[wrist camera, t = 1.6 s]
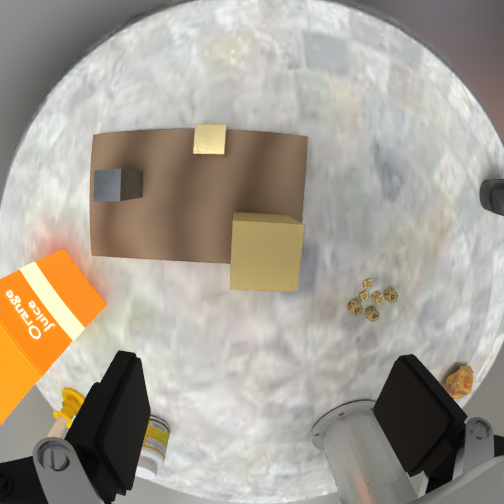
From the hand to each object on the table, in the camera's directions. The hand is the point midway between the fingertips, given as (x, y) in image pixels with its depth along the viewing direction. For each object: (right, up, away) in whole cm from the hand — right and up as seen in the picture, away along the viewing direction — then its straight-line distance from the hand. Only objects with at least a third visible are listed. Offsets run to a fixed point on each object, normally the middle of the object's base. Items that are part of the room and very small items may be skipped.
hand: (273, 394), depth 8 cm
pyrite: (+36, -18, +27) cm, 49 cm away
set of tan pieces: (+13, -1, +23) cm, 26 cm away
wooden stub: (-4, +15, +16) cm, 22 cm away
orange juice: (-24, 0, +20) cm, 31 cm away
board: (-7, +11, +18) cm, 22 cm away
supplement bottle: (-16, -22, +25) cm, 37 cm away
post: (-13, +12, +16) cm, 23 cm away
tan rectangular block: (0, +6, +18) cm, 19 cm away
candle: (-30, -19, +24) cm, 43 cm away
